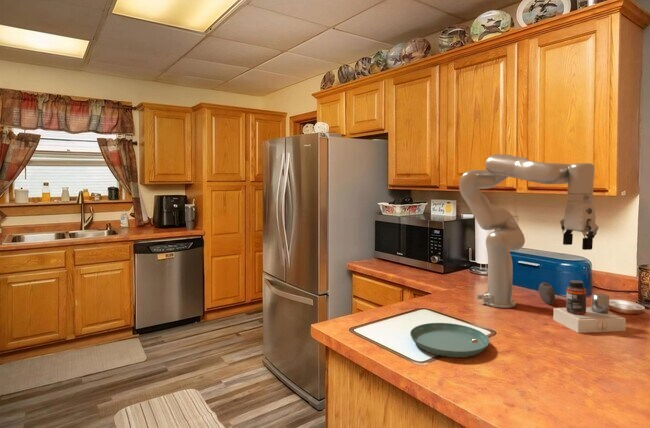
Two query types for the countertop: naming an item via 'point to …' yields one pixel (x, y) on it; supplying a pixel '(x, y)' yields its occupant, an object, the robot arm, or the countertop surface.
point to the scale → (589, 321)
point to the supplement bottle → (576, 298)
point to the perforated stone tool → (547, 293)
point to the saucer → (449, 339)
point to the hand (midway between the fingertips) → (577, 246)
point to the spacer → (600, 303)
